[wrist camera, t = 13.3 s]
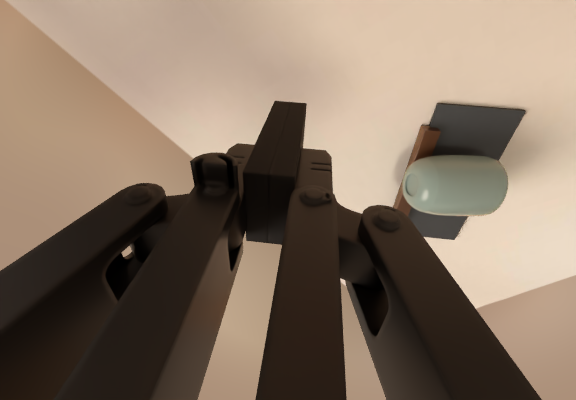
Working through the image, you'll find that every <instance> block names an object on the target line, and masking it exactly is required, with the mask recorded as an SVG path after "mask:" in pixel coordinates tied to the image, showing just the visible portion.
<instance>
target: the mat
mask: <svg viewBox="0 0 576 400" xmlns="http://www.w3.org/2000/svg"><path fill="white" fill-rule="evenodd" d="M525 112H526V111H525V110H520V109H507V108H494V107H482V106H469V105H457V104H444V103H437V105H436V108H435V111H434V114H433V116H432V119H431V122H430V125H429V126H430V127H435V128H438V129H439V130H440V131H441V133H440V135H439V138H438V141H437V143H436V146H435V148H434V151H433V153H432V156H435V155H481V156H487V157H491V158H493V159H496V160H497V161H499V159H500V157H501V155H502V153H503V152H504V150H505V148H506V146H507V144H508V143H509V141H510V139H511V137H512V135H513V134H514V132H515V130H516V128H517V126H518V125H519V123H520V121H521V119H522V118H523V116H524V114H525ZM408 217H409V218H410V220H411V221H412V222H413V224H414V225H415V226H416V228H417V229H418V231H419V232H420V233H421V235H422V236H423V237H432V238H441V239H451V240H455V238H456V236H457V234H458V232H459V231H460V229H461V227H462V225H463V223H464V222H465V220H466V218H467V216H441V215H432V214H427V213H423V212H420V211H418V210H416V209H414V208H413V207H411V209H410V212H409V214H408Z"/></svg>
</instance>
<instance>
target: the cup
mask: <svg viewBox="0 0 576 400" xmlns="http://www.w3.org/2000/svg"><path fill="white" fill-rule="evenodd" d="M507 189H508V176H507V172H506V170H505V168H504V167H503V166H502V164H501V163H500V162H498V161H497V160H496V159H493V158H491V157H487V156H481V155H435V156H428V157H424V158H421V159H418V160H416V161H414V162H413V163H412V164H411V165H410V166H409V167H408V168H407V170H406V172H405V175H404V178H403V184H402V190H403V195H404V197H405V199H406V201H407V203H408V204H409V205H410V206H411V207H413V208H414V209H416V210H418V211H420V212H423V213H427V214H432V215H441V216H484V215H488V214H491V213H493V212H494V211H496V210H497V209H498V208H499V207H500V205H501V204H502V202H503V201H504V198H505V196H506V193H507Z"/></svg>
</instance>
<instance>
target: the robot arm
mask: <svg viewBox="0 0 576 400" xmlns="http://www.w3.org/2000/svg"><path fill="white" fill-rule="evenodd" d="M306 105H307V103H295V102H282V101H275V102H274V104H273V106H272V108H271V111H270V113H269V115H268V117H267V120H266V122H265V124H264V126H263V128H262V131H261V133H260V135H259V137H258V139H257V142H256V144H255V145H249V144H236V145H234V146H233V147H231V148H230V149H229V150H228V152H227V153H226V154H224V153H207V154H202V155H200V156H197V157H195V158H194V159H193V160H192V161H190V163H191V168H192V174H193V180H194V185H195V186H194V188H193V189H192V191H191V192H190V194H184V195H175V196H166V195H165V191H164V189H163V188H162V187H161V186H159V185H157V184H151V183H143V184H142V183H140V184H136V185H132V186H129V187H127V188H125V189H123V190H121V191H119V192H118V193H116V194H115V195H113V196H112V197H111V198H109V199H107V200H106V201H104V202H103V203H101V204H100V205H98V206H97V207H95V208H94V209H92V210H91V211H89V212H88V213H86V214H85V215H83V216H82V217H80V218H79V219H77V220H76V221H74V222H73V223H72V224H70V225H69V226H67V227H66V228H64V229H63V230H61V231H60V232H58V233H56V234H55V235H53V236H52V237H50V238H49V239H47V240H46V241H44V242H43V243H41V244H40V245H38V246H37V247H36V248H34V249H33V250H31V251H30V252H28V253H27V254H25V255H24V256H22V257H21V258H19V259H18V260H16V261H15V262H13V263H12V264H10V265H9V266H7V267H6V268H4V269H3V270H1V271H0V400H197V399H198V396H199V392H200V389H201V386H202V383H203V380H204V376H205V373H206V370H207V367H208V364H209V360H210V357H211V353H212V351H213V347H214V344H215V341H216V337H217V334H218V331H219V328H220V325H221V321H222V318H223V315H224V312H225V308H226V305H227V302H228V299H229V295H230V292H231V289H232V286H233V282H234V279H235V276H236V273H237V270H238V267H239V263H240V260H241V257H242V253H243V237H244V234H245V231H246V240H247V241H255V242H263V243H272V244H273V243H274V244H281V245H282V249H281V254H280V260H279V266H278V272H277V278H276V284H275V289H274V295H273V301H272V307H271V313H270V319H269V324H268V330H267V337H266V342H265V348H264V354H263V360H262V365H261V371H260V377H259V383H258V389H257V395H256V400H346V382H345V362H344V344H343V323H342V304H341V283H340V278H342V279H344V280H345V281H346V286H347V289H348V292H349V294H350V297H351V300H352V303H353V306H354V309H355V312H356V314H357V317H358V320H359V323H360V326H361V329H362V332H363V334H364V337H365V340H366V343H367V346H368V349H369V351H370V354H371V357H372V360H373V363H374V365H375V368H376V371H377V374H378V377H379V380H380V383H381V385H382V388H383V391H384V394H385V397H386V400H541V398H540V397H539V395H538V394H537V393H536V391H535V390H534V389H533V387H532V386H531V384H530V383H529V382H528V380H527V379H526V378H525V376H524V375H523V373H522V372H521V371H520V369H519V368H518V367H517V365H516V364H515V363H514V361H513V360H512V358H511V357H510V356H509V354H508V353H507V351H506V350H505V349H504V347H503V346H502V345H501V343H500V342H499V340H498V339H497V338H496V336H495V335H494V334H493V332H492V331H491V329H490V328H489V327H488V325H487V324H486V323H485V321H484V320H483V318H482V317H481V316H480V315H479V313H478V312H477V310H476V309H475V307H474V306H473V305H472V303H471V302H470V301H469V299H468V298H467V296H466V295H465V294H464V292H463V291H462V290H461V288H460V287H459V285H458V284H457V283H456V281H455V280H454V279H453V277H452V276H451V274H450V273H449V272H448V270H447V269H446V268H445V266H444V265H443V263H442V262H441V261H440V259H439V258H438V257H437V255H436V254H435V253H434V251H433V250H432V248H431V247H430V246H429V244H428V243H427V242H426V240H425V239H424V237H423V236H422V235H421V233H420V232H419V231H418V229H417V228H416V226H415V225H414V224H413V222H412V221H411V220H410V218H409V217H408V216H406V215H405V214H404V213H403V212H401V211H399V210H397V209H396V208H392V207H389V206H383V205H375V206H370V207H368V208H367V209H365V210H364V211H363V213H362V214H360V213H357V212H354V211H351V210H349V209H346V208H345V207H343V206H341V205H340V204H339V203H338V202H337V201H336V198H335V195H334V194H333V187H332V166H331V165H332V162H331V156H330V155H329V154H328V153H327V151H326V150H315V149H304V148H303V140H304V128H305V117H306ZM129 245H130V247H131V249H132V252H131V253H130V254H129V255H127V256H126V257H123V255H122V253H121V252H122V251H124V250H125V249H126V248H127V247H128V246H129Z"/></svg>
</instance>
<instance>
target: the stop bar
mask: <svg viewBox="0 0 576 400" xmlns="http://www.w3.org/2000/svg"><path fill="white" fill-rule="evenodd" d="M440 133H441V131H440V130H439V129H438V128H435V127H430V126H425V125H421V128H420V131H419V134H418V136H417V139H416V142H415V145H414V148H413V151H412V154H411V157H410V160H409V163H408V166H407V168H408V167H409V166H410V165H411V164H412V163H413V162H414V161H416V160H418V159H421V158H424V157H428V156H432V153H433V151H434V148H435V146H436V143H437V141H438V138H439V135H440ZM407 168H406V170H407ZM405 172H406V171H405ZM404 175H405V174H404ZM403 178H404V177H403ZM402 184H403V180H402V183H401V186H400V189H399V192H398V195H397V198H396V201H395V203H394V206H393V208H396V209H397V210H399V211H401V212H403V213H404V214H405V215H406V216H408V214H409V212H410V209H411V206H410V205H409V204H408V203H407V201H406V199H405V197H404V195H403V190H402Z"/></svg>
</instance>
